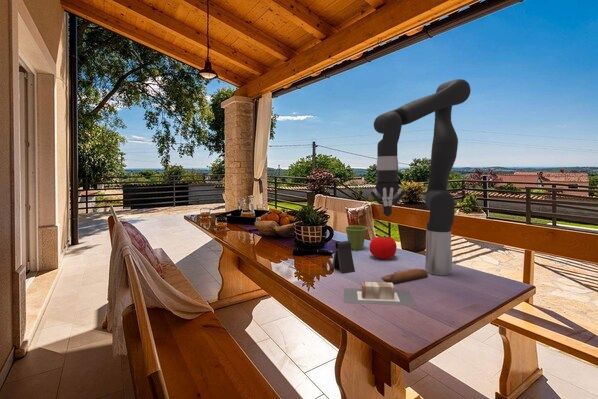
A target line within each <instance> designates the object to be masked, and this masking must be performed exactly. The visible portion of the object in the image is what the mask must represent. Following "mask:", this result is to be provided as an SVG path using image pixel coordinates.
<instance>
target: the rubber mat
mask: <svg viewBox="0 0 598 399" xmlns="http://www.w3.org/2000/svg"><path fill="white" fill-rule="evenodd" d="M343 303H344V304H360V305H361V304H365V305H390V306H391V305H393V306H413V307H417V306H418V305H417V303H416V301H415V299H414V297H413V295H412V294H411V292H410V290H408V289H406V290H405V289H395V290H394V299H372V298H362V288H350V287H349V288H347V287H345V288H343Z"/></svg>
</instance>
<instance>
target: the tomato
mask: <svg viewBox="0 0 598 399" xmlns="http://www.w3.org/2000/svg"><path fill="white" fill-rule="evenodd" d="M397 247H398V246H397V242H396V241H395V239H394V238H393V237H391V236H387V235H384V236H375V237H374V238H372V239H371V240H370V242H369V249H368V250H369V252H370V253H371V255H372V256H373V257H374V258H378V259H381V260H388V259H392V258H394V256H395V255H396V253H397Z"/></svg>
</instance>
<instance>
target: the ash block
mask: <svg viewBox="0 0 598 399" xmlns="http://www.w3.org/2000/svg"><path fill="white" fill-rule="evenodd" d="M361 289H362V298H372V299H394V290H396V289H395V285H393V283H387V282H385V281H382V282H381V281H379V282H378V281H361Z"/></svg>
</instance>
